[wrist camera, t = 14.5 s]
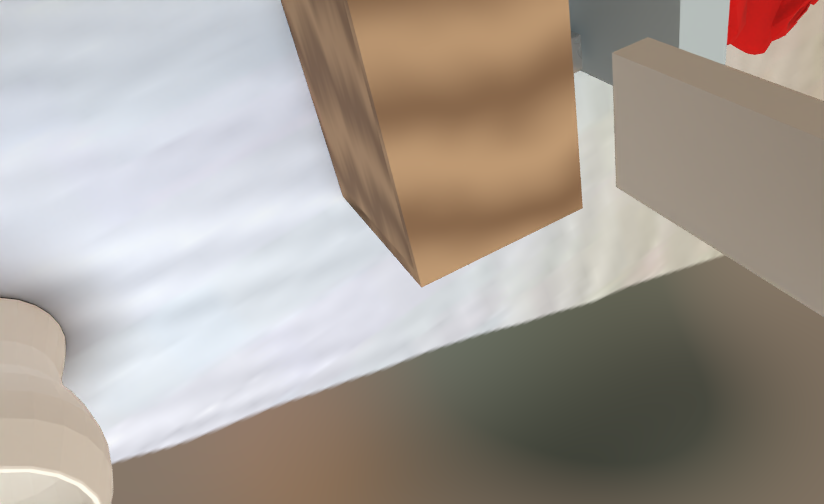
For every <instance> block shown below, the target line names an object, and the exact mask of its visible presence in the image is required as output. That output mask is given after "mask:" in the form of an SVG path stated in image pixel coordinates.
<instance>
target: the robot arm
mask: <svg viewBox="0 0 824 504" xmlns="http://www.w3.org/2000/svg"><path fill="white" fill-rule="evenodd" d="M612 70H613V102H614V134H615V166H616V187H617V188H619V189H620V190H622V191H624V192H625V193H627V194H628V195H630V196H632V197H633V198H635V199H636V200H638V201H640V202H641V203H643V204H644V205H646V206H648V207H649V208H651V209H652V210H654V211H656V212H657V213H659V214H660V215H662V216H663V217H665V218H667V219H668V220H670V221H671V222H673V223H675V224H676V225H678V226H679V227H681V228H683V229H684V230H686V231H687V232H689V233H691V234H692V235H694V236H695V237H697V238H699V239H700V240H702V241H703V242H705V243H707V244H708V245H710V246H711V247H713V248H715V249H716V250H718V251H719V252H721V253H723V254H724V255H726V256H727V257H729V258H731V259H732V260H734V261H735V262H737V263H739V264H740V265H742V266H744V267H745V268H746V269H748V270H750V271H751V272H753V273H755V274H756V275H758V276H759V277H761V278H763V279H764V280H766V281H767V282H769V283H770V284H772V285H774V286H775V287H777V288H778V289H780V290H782V291H783V292H785V293H786V294H788V295H790V296H791V297H793V298H794V299H796V300H798V301H799V302H801V303H802V304H804V305H806V306H807V307H809V308H810V309H812V310H814V311H815V312H817V313H818V314H820V315H822V316H823V317H824V101H822V100H819V99H817V98H814V97H811V96H808V95H806V94H803V93H800V92H797V91H795V90H792V89H789V88H786V87H784V86H781V85H778V84H775V83H773V82H770V81H767V80H764V79H762V78H759V77H756V76H753V75H751V74H748V73H745V72H742V71H740V70H737V69H734V68H731V67H729V66H726V65H723V64H720V63H718V62H715V61H712V60H709V59H707V58H704V57H701V56H698V55H696V54H693V53H690V52H687V51H685V50H682V49H679V48H677V47H674V46H671V45H668V44H666V43H663V42H660V41H657V40H655V39H652V38H649V37H647V38H645V39H642V40H640V41H638V42H635V43H633V44H631V45H628V46H626V47H624V48H621V49H619V50H617V51H615V52H612Z"/></svg>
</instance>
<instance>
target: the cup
mask: <svg viewBox="0 0 824 504" xmlns="http://www.w3.org/2000/svg"><path fill="white" fill-rule="evenodd" d="M65 354H66V345H65V336H64V334H63V332H62V329H61V327H60V325H59V324H58V323H57V322H56V321H55V320H54V318H53V317H52V316H51V315H50V314H49V313H47V312H45V311H44V310H42V309H40V308H39V307H37V306H35V305H32V304H29V303H26V302H23V301H20V300H15V299H5V298H0V504H111V501H112V495H113V471H112V465H111V460H110V454H109V448H108V444H107V441H106V439H105V437H104V435H103V432H102V430H101V428H100V426H99V424H98V423H97V422H96V420H95V419H94V417H93V416H92V415H91V413H90V412H89V410H88V409H87V407H86V406H85V405H84V404H83V403H82V402H81V401H80V400H79V398H78V397H77V396H76V395H75V394H74V393H73V392H72V391H70V390H69V389H68V388H66V387H65V386H63V383H62V380H61V379H62V374H63V369H64V364H65Z"/></svg>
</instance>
